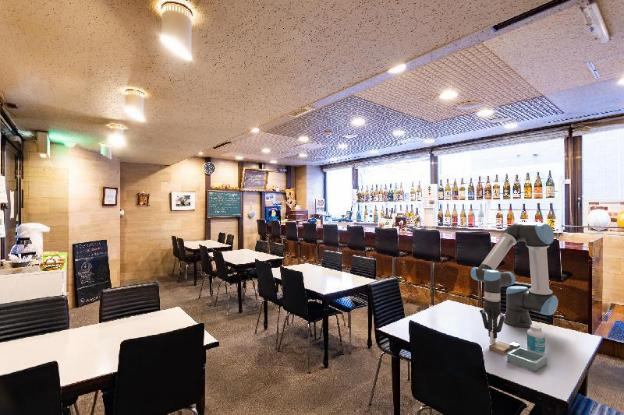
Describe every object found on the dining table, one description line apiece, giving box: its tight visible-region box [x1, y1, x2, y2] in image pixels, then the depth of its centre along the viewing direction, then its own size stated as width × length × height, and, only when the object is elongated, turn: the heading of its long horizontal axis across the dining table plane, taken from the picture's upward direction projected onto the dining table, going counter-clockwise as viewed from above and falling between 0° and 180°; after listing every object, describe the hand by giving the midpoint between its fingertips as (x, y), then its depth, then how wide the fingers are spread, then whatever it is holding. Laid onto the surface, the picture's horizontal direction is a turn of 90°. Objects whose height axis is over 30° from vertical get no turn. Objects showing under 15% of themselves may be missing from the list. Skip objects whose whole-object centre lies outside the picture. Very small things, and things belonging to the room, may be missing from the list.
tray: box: [506, 346, 548, 373], centre depth 149 cm, size 12×12×4 cm
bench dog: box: [509, 341, 521, 352], centre depth 158 cm, size 4×3×5 cm
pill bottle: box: [526, 324, 546, 356], centre depth 158 cm, size 8×7×14 cm
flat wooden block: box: [488, 340, 510, 355], centre depth 163 cm, size 10×7×2 cm
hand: (492, 343), depth 166 cm, fingers closed
